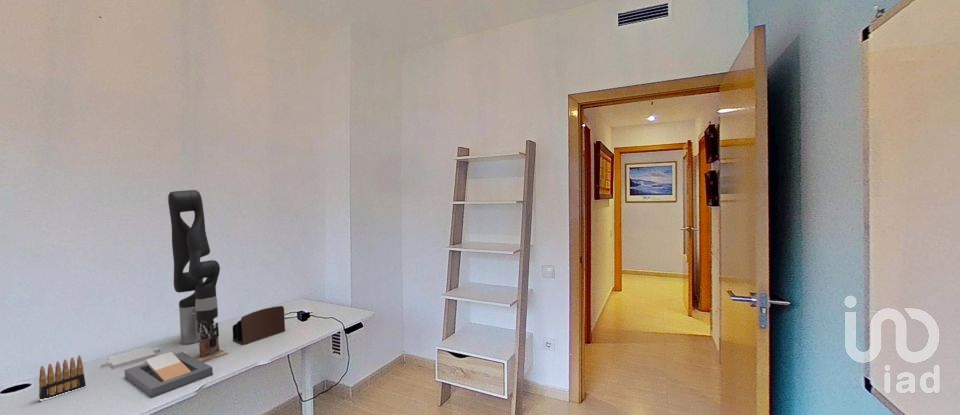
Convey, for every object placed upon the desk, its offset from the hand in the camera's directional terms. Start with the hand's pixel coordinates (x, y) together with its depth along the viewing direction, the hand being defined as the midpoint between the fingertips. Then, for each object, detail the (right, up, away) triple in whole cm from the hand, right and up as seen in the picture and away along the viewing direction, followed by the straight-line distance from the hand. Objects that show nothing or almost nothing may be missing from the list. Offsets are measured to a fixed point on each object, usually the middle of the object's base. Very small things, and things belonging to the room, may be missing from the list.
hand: (208, 344), depth 155 cm
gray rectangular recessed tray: (-2, -6, -17) cm, 18 cm away
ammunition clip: (-30, -7, -28) cm, 42 cm away
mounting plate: (-32, -6, -1) cm, 33 cm away
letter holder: (+9, -4, +22) cm, 24 cm away
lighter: (0, -5, +1) cm, 5 cm away
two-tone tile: (-2, -2, -17) cm, 18 cm away
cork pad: (0, -5, 0) cm, 5 cm away
